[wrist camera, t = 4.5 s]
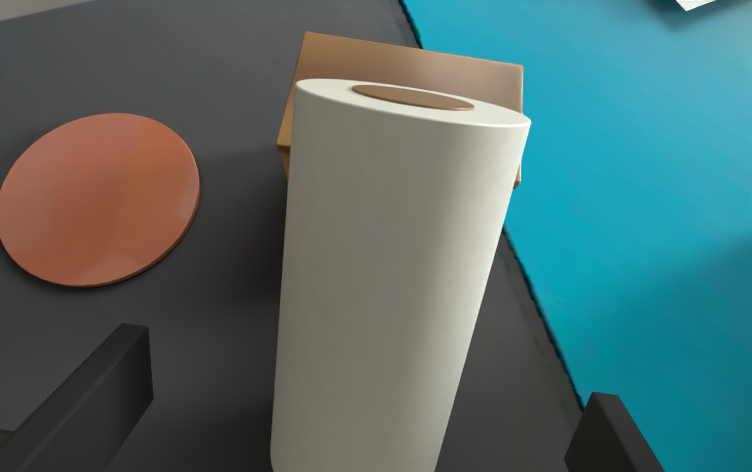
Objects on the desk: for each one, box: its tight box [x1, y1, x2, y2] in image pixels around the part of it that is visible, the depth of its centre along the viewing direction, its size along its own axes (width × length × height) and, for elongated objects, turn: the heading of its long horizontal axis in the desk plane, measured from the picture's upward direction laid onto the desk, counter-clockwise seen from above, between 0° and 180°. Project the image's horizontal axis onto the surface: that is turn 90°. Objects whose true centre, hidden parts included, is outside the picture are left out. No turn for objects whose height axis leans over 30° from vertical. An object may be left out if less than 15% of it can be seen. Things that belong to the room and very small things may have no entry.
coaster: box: [0, 113, 201, 287], centre depth 26 cm, size 11×11×1 cm
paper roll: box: [270, 79, 531, 472], centre depth 17 cm, size 16×7×16 cm, turn 172°
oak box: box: [276, 31, 523, 189], centre depth 24 cm, size 6×10×8 cm, turn 82°
